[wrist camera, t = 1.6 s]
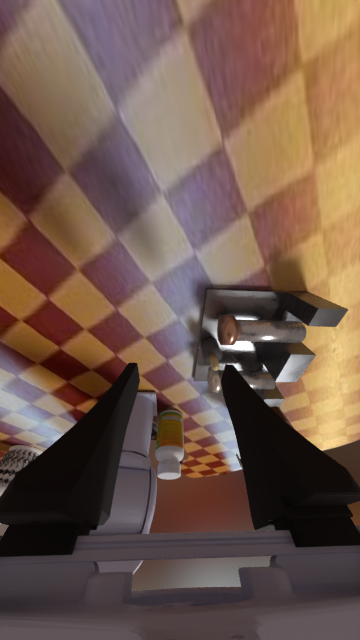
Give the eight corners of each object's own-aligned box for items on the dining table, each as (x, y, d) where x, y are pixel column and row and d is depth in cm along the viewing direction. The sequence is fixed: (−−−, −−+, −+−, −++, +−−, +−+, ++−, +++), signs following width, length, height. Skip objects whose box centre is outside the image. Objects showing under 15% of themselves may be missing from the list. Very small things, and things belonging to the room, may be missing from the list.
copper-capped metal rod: (215, 333, 20) (222, 351, 17) (220, 309, 18) (229, 325, 15) (281, 334, 20) (300, 353, 17) (292, 311, 18) (316, 327, 15)
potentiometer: (199, 350, 22) (204, 374, 19) (201, 337, 21) (207, 360, 17) (216, 351, 22) (224, 375, 19) (219, 338, 21) (228, 360, 17)
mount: (193, 378, 27) (197, 406, 22) (206, 288, 18) (215, 305, 14) (263, 379, 27) (279, 406, 23) (308, 291, 18) (348, 309, 14)
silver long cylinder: (206, 376, 24) (210, 397, 21) (209, 361, 22) (214, 382, 19) (260, 377, 25) (272, 398, 22) (267, 362, 23) (281, 382, 20)
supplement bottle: (157, 409, 32) (150, 472, 23) (182, 408, 32) (184, 470, 23) (160, 421, 34) (155, 481, 26) (183, 420, 34) (185, 480, 26)
